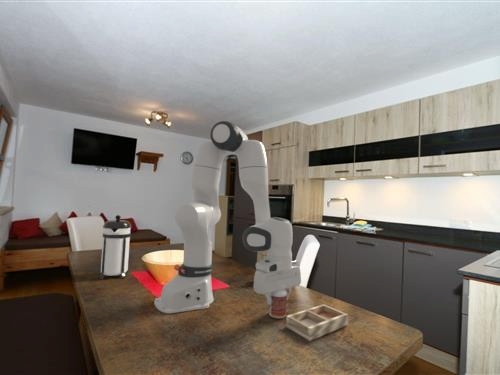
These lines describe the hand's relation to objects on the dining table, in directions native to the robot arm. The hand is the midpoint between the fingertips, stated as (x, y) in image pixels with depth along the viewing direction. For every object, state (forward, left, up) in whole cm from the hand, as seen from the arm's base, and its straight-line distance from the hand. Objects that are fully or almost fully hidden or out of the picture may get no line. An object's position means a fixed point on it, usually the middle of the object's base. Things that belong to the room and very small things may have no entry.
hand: (277, 301), depth 94 cm
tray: (+6, -13, -5) cm, 15 cm away
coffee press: (-40, +77, -5) cm, 87 cm away
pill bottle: (0, 0, -5) cm, 5 cm away
